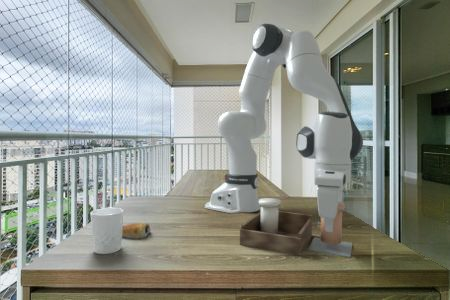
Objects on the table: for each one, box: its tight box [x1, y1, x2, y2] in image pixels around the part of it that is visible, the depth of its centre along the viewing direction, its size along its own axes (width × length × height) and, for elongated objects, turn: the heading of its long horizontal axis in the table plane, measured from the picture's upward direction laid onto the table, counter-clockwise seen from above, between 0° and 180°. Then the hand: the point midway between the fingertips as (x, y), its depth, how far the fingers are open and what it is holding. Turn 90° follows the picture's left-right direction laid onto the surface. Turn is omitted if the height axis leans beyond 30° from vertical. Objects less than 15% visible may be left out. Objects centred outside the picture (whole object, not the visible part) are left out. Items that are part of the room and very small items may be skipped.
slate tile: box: [307, 237, 354, 259], centre depth 78 cm, size 10×10×1 cm
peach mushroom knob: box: [319, 201, 346, 244], centre depth 77 cm, size 6×6×10 cm
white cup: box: [90, 207, 124, 255], centre depth 77 cm, size 8×8×10 cm
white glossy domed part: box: [258, 197, 282, 234], centre depth 87 cm, size 6×6×10 cm
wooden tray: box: [239, 208, 313, 256], centre depth 83 cm, size 16×16×7 cm
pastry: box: [122, 222, 151, 239], centre depth 88 cm, size 9×7×4 cm
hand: (331, 227), depth 77 cm, fingers closed on peach mushroom knob, 6 cm apart
